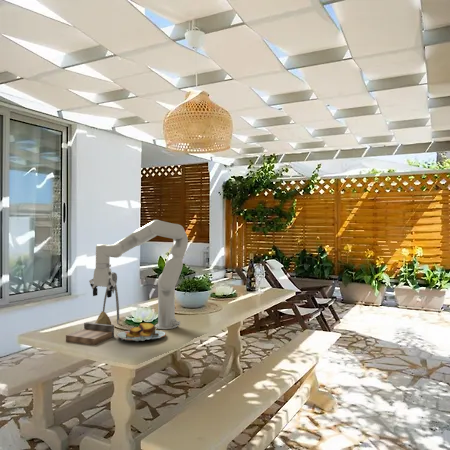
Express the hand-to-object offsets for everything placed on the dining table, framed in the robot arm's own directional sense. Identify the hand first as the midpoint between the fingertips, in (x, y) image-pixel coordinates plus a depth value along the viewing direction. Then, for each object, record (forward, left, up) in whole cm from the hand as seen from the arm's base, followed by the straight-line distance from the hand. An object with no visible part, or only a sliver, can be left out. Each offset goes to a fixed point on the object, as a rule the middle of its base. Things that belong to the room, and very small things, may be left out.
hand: (102, 296), depth 241 cm
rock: (0, 0, -19) cm, 19 cm away
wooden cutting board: (-5, +18, -19) cm, 26 cm away
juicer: (+6, -19, -19) cm, 28 cm away
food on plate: (-29, +6, -19) cm, 36 cm away
